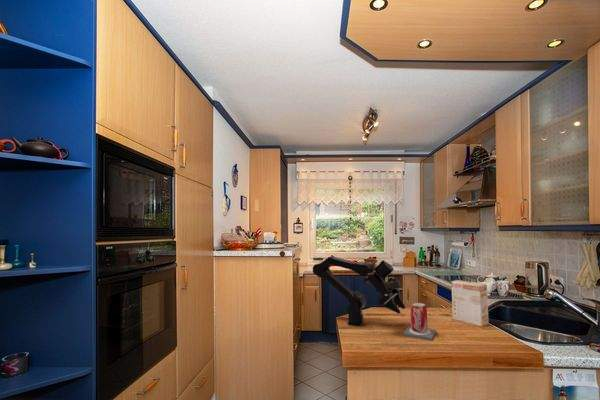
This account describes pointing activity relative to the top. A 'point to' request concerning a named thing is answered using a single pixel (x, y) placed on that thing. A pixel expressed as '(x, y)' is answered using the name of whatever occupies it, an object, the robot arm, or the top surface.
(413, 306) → the soda can
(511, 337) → the top surface
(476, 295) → the coffeecake box
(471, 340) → the top surface
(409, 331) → the dock pad
